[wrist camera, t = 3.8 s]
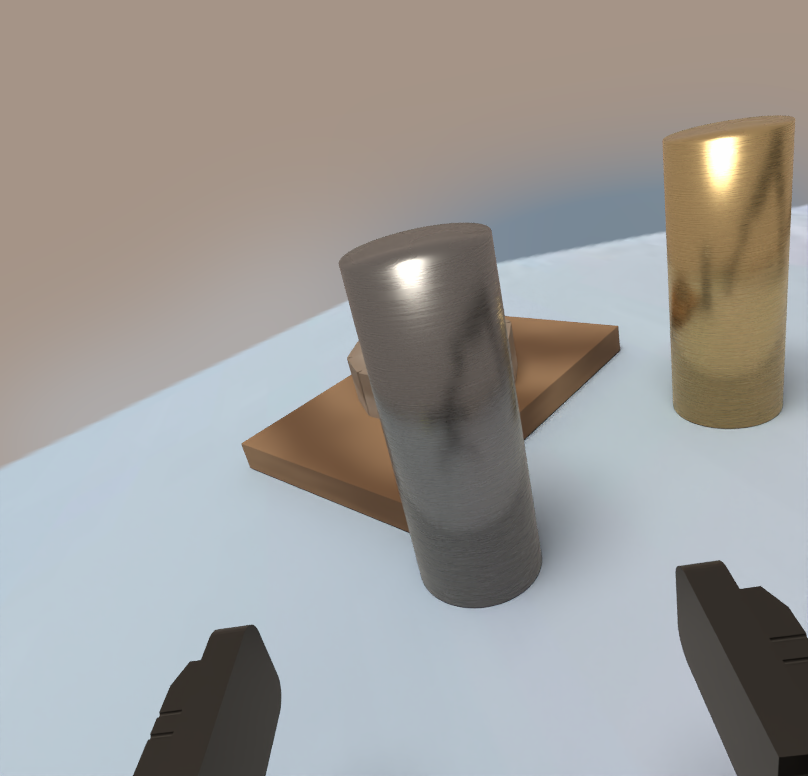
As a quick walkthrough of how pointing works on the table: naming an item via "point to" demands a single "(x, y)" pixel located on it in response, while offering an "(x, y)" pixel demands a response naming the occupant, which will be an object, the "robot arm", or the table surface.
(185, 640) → the table surface
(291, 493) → the table surface
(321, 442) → the socket board
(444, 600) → the steel peg
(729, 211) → the brass peg
